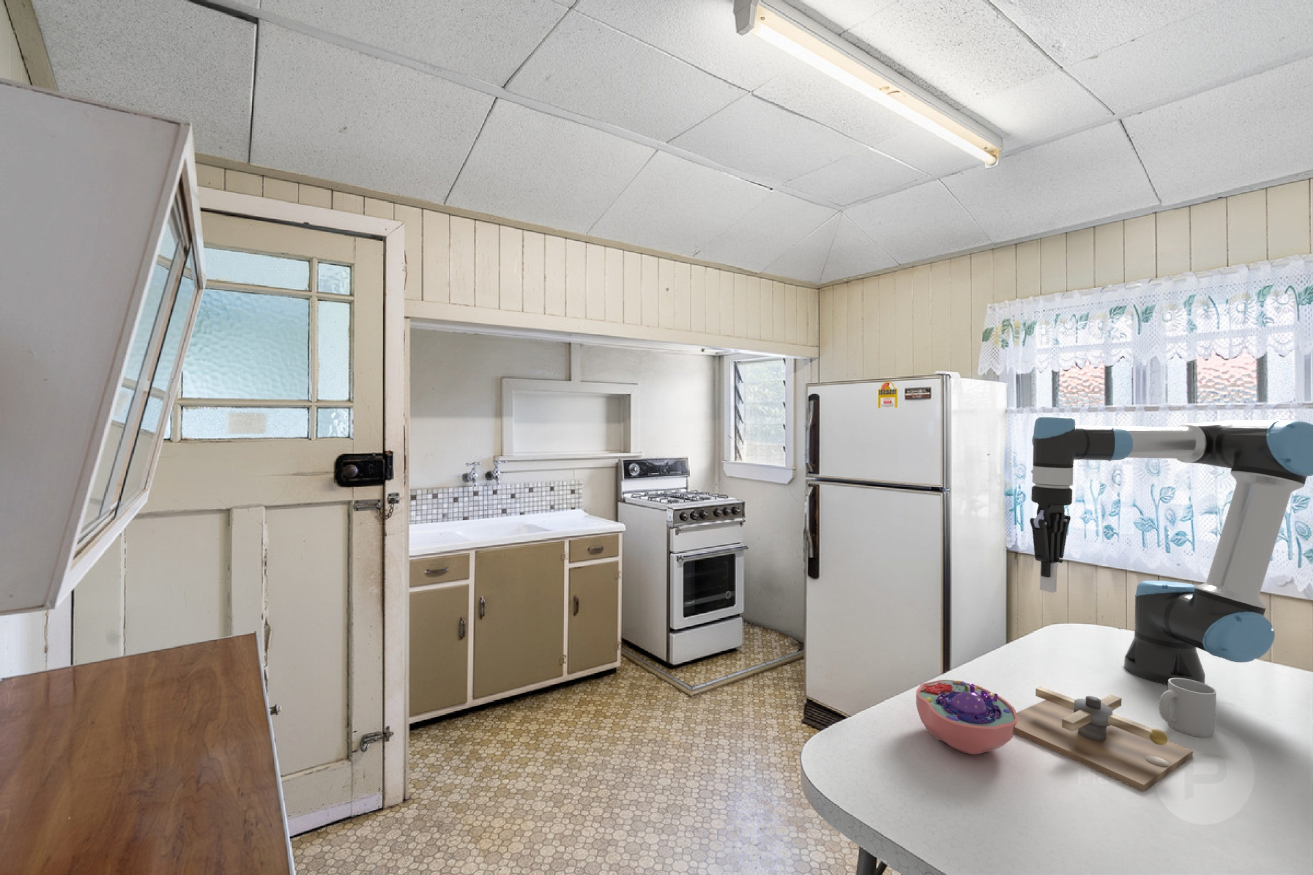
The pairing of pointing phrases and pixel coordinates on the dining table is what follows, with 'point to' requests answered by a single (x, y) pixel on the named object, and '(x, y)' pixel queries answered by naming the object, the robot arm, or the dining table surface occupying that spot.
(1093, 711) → the capstan
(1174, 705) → the cup
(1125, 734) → the stand
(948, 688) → the cell model
